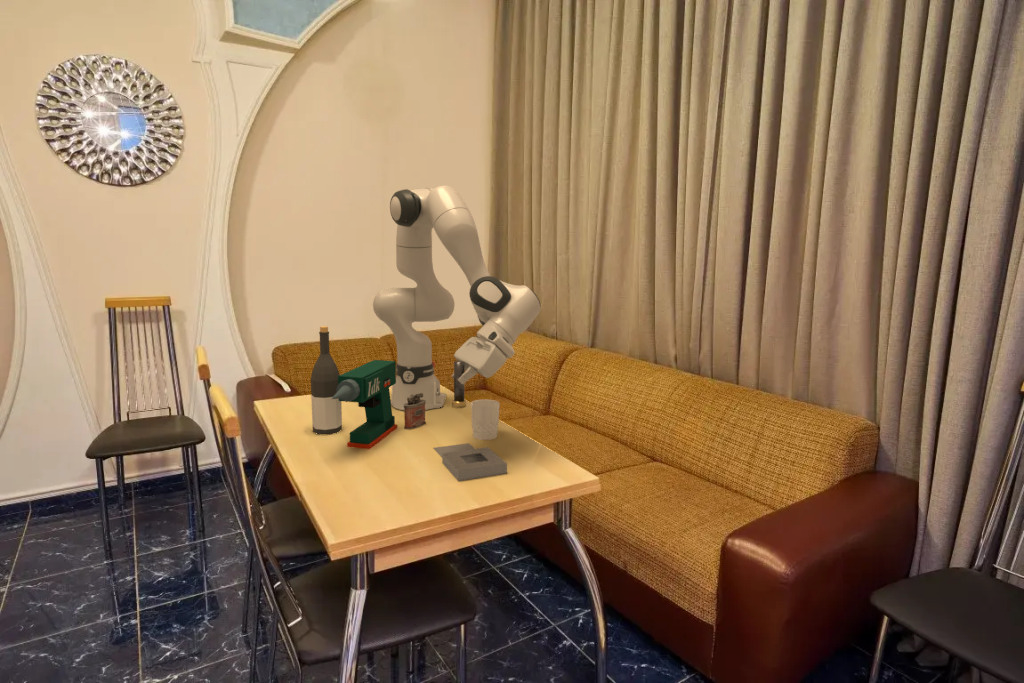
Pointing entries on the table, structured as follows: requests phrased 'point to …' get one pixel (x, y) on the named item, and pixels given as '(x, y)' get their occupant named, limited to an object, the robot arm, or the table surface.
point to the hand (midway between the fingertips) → (457, 380)
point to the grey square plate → (453, 448)
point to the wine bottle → (325, 390)
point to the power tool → (370, 400)
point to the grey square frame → (474, 463)
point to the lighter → (414, 411)
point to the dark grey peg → (458, 386)
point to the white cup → (485, 418)
